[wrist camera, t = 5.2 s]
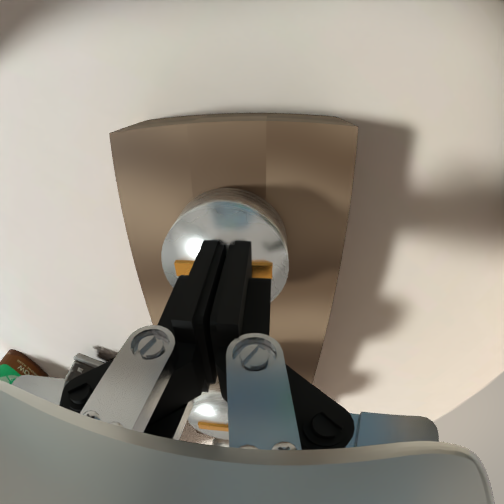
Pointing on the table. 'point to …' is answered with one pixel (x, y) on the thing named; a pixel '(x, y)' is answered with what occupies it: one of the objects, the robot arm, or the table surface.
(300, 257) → the knob console
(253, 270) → the knob
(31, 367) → the food container
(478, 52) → the table surface
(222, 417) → the middle knob
